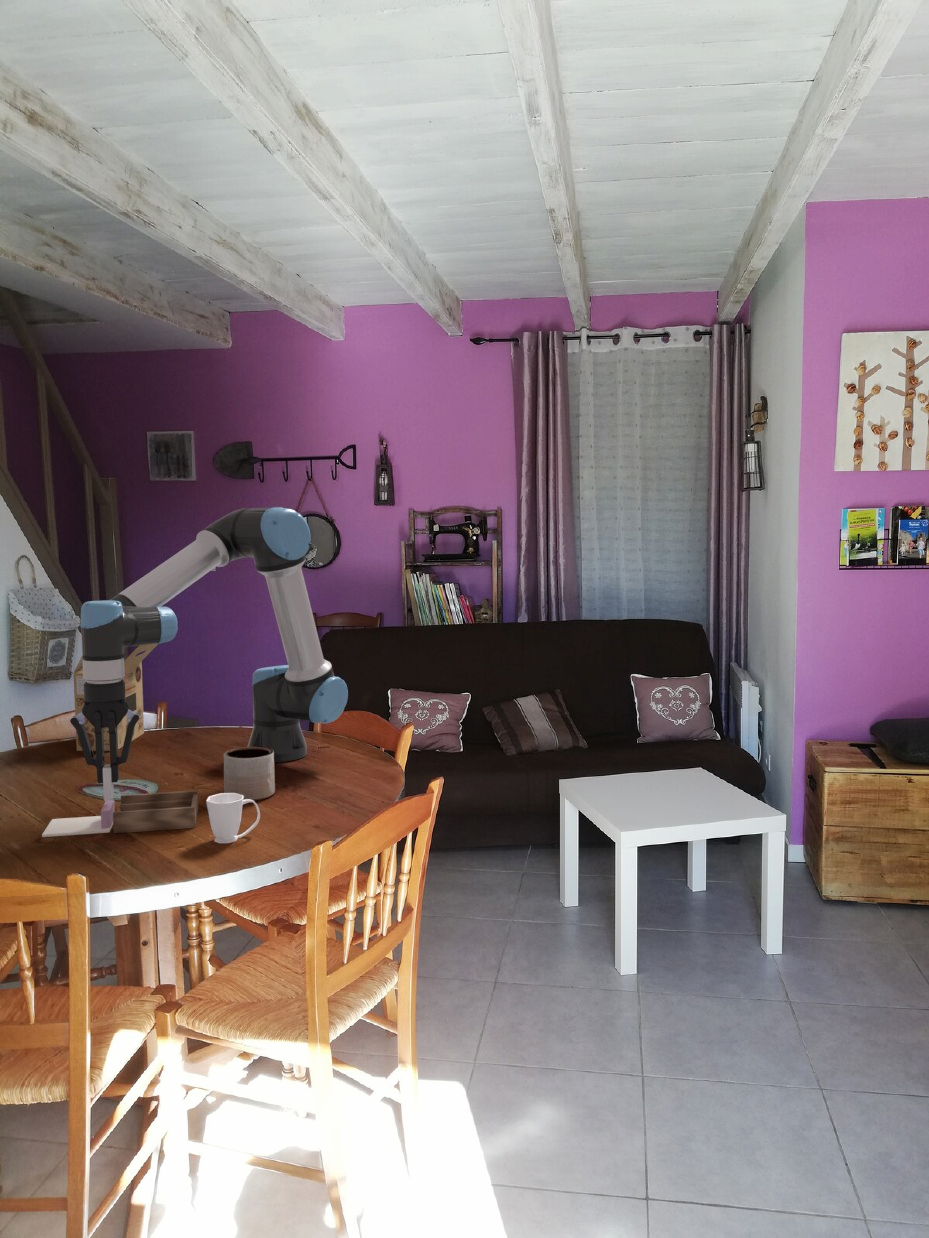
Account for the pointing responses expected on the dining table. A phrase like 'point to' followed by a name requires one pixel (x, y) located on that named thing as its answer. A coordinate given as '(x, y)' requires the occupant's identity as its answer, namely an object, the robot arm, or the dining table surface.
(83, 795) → the dining table surface
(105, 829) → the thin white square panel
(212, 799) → the cup
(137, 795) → the pencil case
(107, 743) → the box
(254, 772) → the planter
